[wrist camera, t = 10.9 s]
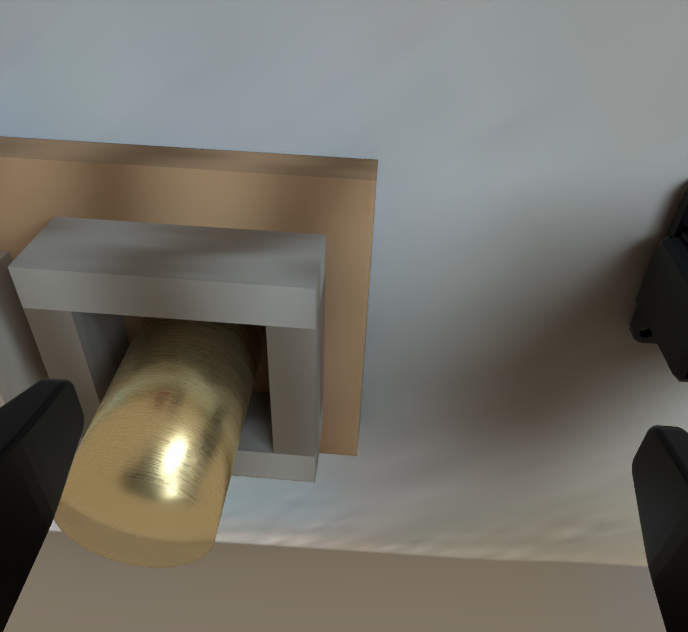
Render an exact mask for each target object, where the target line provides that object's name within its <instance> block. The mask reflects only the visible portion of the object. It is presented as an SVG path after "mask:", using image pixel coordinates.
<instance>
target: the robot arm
mask: <svg viewBox="0 0 688 632" xmlns="http://www.w3.org/2000/svg"><path fill="white" fill-rule="evenodd" d="M636 302H637V304H638V306H637V308H636V311H635V313H634V316H633V318H632V320H631V323H630V327H629V329H630V331H631V334H632V336H633V338H634V339H635V340H636V341H638V342H642V343H656V344H658V346H659V348H660V350H661V352H662V354H663V356H664V358H665V360H666V362H667V364H668V366H669V368H670V370H671V372H672V374H673V375H674V376H675V377H676V379H677V380H678V381H679V382H688V187H687V189H686V191H685V194H684V196H683V198H682V201H681V203H680V206H679V208H678V210H677V213H676V215H675V218H674V220H673V222H672V225H671V227H670V230H669V232H668V234H667V236H666V237H665V238H663V239H662V240H661V241H660V242H659V244H658V246H657V249H656V251H655V254H654V256H653V259H652V261H651V263H650V266H649V268H648V271H647V273H646V276H645V278H644V280H643V283H642V285H641V288H640V290H639V292H638V295H637V297H636ZM645 327H649V328H648V329H646V330H643V331H641V329H643V328H645ZM83 428H84V413H83V410H82V407H81V404H80V401H79V398H78V395H77V392H76V390H75V387H74V385H73V383H72V382H71V381H70V380H67V379H55V378H45V379H42V380H40V381H38V382H37V383H35V384H34V385H32V386H31V387H29V388H28V389H26V390H25V391H23V392H22V393H20V394H19V395H17V396H16V397H14V398H13V399H12V400H10V401H9V402H7V403H6V404H4V405H3V406H1V407H0V632H3V630H4V628H5V626H6V624H7V622H8V619H9V617H10V615H11V613H12V610H13V608H14V606H15V604H16V602H17V599H18V597H19V595H20V593H21V591H22V588H23V586H24V584H25V582H26V580H27V577H28V575H29V573H30V571H31V568H32V566H33V564H34V562H35V559H36V557H37V555H38V553H39V551H40V549H41V546H42V544H43V542H44V540H45V537H46V535H47V533H48V531H49V528H50V526H51V524H52V521H53V519H54V517H55V514H56V511H57V508H58V505H59V503H60V500H61V497H62V493H63V490H64V487H65V484H66V481H67V478H68V475H69V472H70V469H71V466H72V463H73V459H74V456H75V453H76V450H77V447H78V444H79V441H80V438H81V435H82V432H83ZM632 475H633V481H634V487H635V493H636V499H637V505H638V511H639V517H640V523H641V529H642V535H643V541H644V547H645V552H646V558H647V563H648V568H649V571H650V575H651V579H652V583H653V586H654V590H655V593H656V597H657V600H658V604H659V607H660V611H661V614H662V618H663V621H664V625H665V628H666V632H688V433H687V432H686V431H685V430H683V429H682V428H679V427H672V426H659V425H656V426H652V427H651V428H650V429H649V430H648V432H647V433H646V435H645V437H644V439H643V441H642V443H641V445H640V447H639V449H638V451H637V453H636V455H635V457H634V459H633V463H632Z"/></svg>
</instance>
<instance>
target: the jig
mask: <svg viewBox="0 0 688 632" xmlns="http://www.w3.org/2000/svg"><path fill="white" fill-rule="evenodd" d="M377 165H378V160H371V159H355V158H339V157H323V156H307V155H291V154H274V153H258V152H242V151H226V150H210V149H194V148H178V147H161V146H145V145H129V144H113V143H97V142H81V141H64V140H48V139H32V138H16V137H0V407H1V406H3V405H4V404H6V403H7V402H9V401H10V400H12V399H13V398H14V397H16V396H17V395H19V394H20V393H22V392H23V391H25V390H26V389H28V388H29V387H31V386H32V385H34V384H35V383H37V382H38V381H40V380H42V379H45V378H55V379H67V380H70V381H71V382H72V383H73V385H74V387H75V390H76V392H77V395H78V398H79V401H80V404H81V407H82V410H83V413H84V428H83V432H82V435H81V438H80V441H79V444H78V447H77V450H78V448H79V446H80V444H81V442H82V440H83V438H84V436H85V434H86V432H87V430H88V428H89V426H90V424H91V422H92V420H93V418H94V416H95V414H96V412H97V410H98V408H99V406H100V404H101V402H102V400H103V398H104V396H105V394H106V392H107V390H108V388H109V386H110V384H111V382H112V380H113V378H114V376H115V374H116V372H117V370H118V368H119V366H120V364H121V362H122V360H123V358H124V356H125V354H126V352H127V350H128V348H129V346H130V344H131V342H132V340H133V338H134V336H135V334H136V332H137V330H138V328H139V326H140V324H141V322H142V320H143V318H144V317H155V318H168V319H182V320H196V321H209V322H223V323H236V324H250V325H261V326H262V329H263V334H264V344H263V349H262V353H261V357H260V361H259V365H258V369H257V373H256V377H255V381H254V385H253V389H252V393H251V397H250V401H249V405H248V409H247V413H246V417H245V421H244V425H243V429H242V433H241V437H240V441H239V445H238V449H237V453H236V457H235V461H234V465H233V469H232V473H231V475H234V476H246V477H258V478H270V479H282V480H294V481H306V482H315V478H316V470H317V463H318V456H319V453H328V454H340V455H352V456H357V448H358V435H359V421H360V407H361V392H362V378H363V364H364V350H365V335H366V321H367V307H368V293H369V279H370V264H371V250H372V236H373V222H374V207H375V193H376V179H377ZM77 450H76V451H77Z"/></svg>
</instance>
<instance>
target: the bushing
mask: <svg viewBox="0 0 688 632" xmlns="http://www.w3.org/2000/svg"><path fill="white" fill-rule="evenodd" d="M263 344H264V334H263V329H262V326H261V325H250V324H236V323H223V322H209V321H196V320H182V319H168V318H155V317H144V318H143V320H142V322H141V324H140V326H139V328H138V330H137V332H136V334H135V336H134V338H133V340H132V342H131V344H130V346H129V348H128V350H127V352H126V354H125V356H124V358H123V360H122V362H121V364H120V366H119V368H118V370H117V372H116V374H115V376H114V378H113V380H112V382H111V384H110V386H109V388H108V390H107V392H106V394H105V396H104V398H103V400H102V402H101V404H100V406H99V408H98V410H97V412H96V414H95V416H94V418H93V420H92V422H91V424H90V426H89V428H88V430H87V432H86V434H85V436H84V438H83V440H82V442H81V444H80V446H79V448H78V450H77V452H76V454H75V456H74V459H73V463H72V466H71V469H70V472H69V475H68V478H67V481H66V484H65V487H64V490H63V493H62V497H61V500H60V503H59V505H58V508H57V511H56V514H55V517H54V520H55V522H56V524H57V525H58V527H59V528H60V529H61V530H62V531H63V532H64V533H65V534H66V535H67V536H68V537H69V538H70V539H72V540H73V541H74V542H75V543H77V544H79V545H80V546H82V547H83V548H85V549H87V550H89V551H91V552H93V553H95V554H97V555H100V556H102V557H105V558H108V559H111V560H114V561H117V562H121V563H125V564H130V565H135V566H142V567H156V568H161V567H175V566H181V565H186V564H189V563H192V562H194V561H197V560H198V559H200V558H202V557H203V556H205V555H206V554H207V553H208V552H209V551H210V550H211V548H212V547H213V544H214V541H215V537H216V533H217V529H218V525H219V521H220V517H221V513H222V509H223V505H224V501H225V497H226V493H227V489H228V485H229V481H230V477H231V473H232V469H233V465H234V461H235V457H236V453H237V449H238V445H239V441H240V437H241V433H242V429H243V425H244V421H245V417H246V413H247V409H248V405H249V401H250V397H251V393H252V389H253V385H254V381H255V377H256V373H257V369H258V365H259V361H260V357H261V353H262V349H263Z"/></svg>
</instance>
